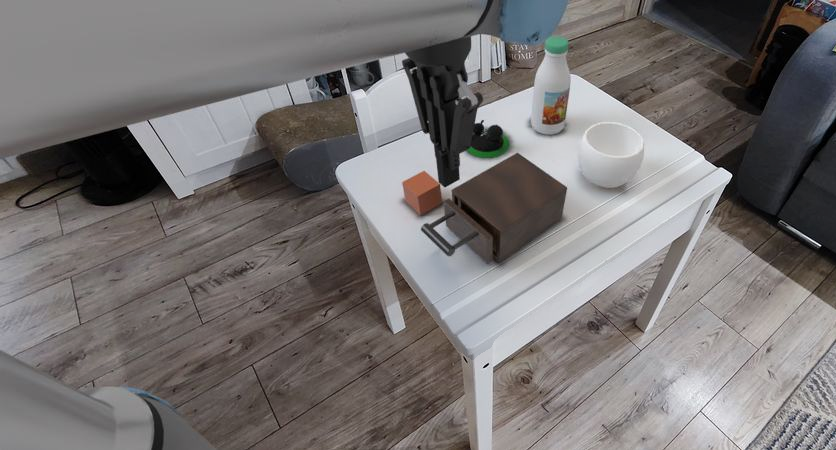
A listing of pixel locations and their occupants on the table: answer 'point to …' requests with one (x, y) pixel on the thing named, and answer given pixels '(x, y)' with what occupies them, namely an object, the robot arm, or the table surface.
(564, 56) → the milk bottle
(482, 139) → the toy figurine
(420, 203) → the block
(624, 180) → the cup
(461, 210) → the drawer
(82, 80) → the robot arm
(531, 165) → the cabinet
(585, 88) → the table surface
